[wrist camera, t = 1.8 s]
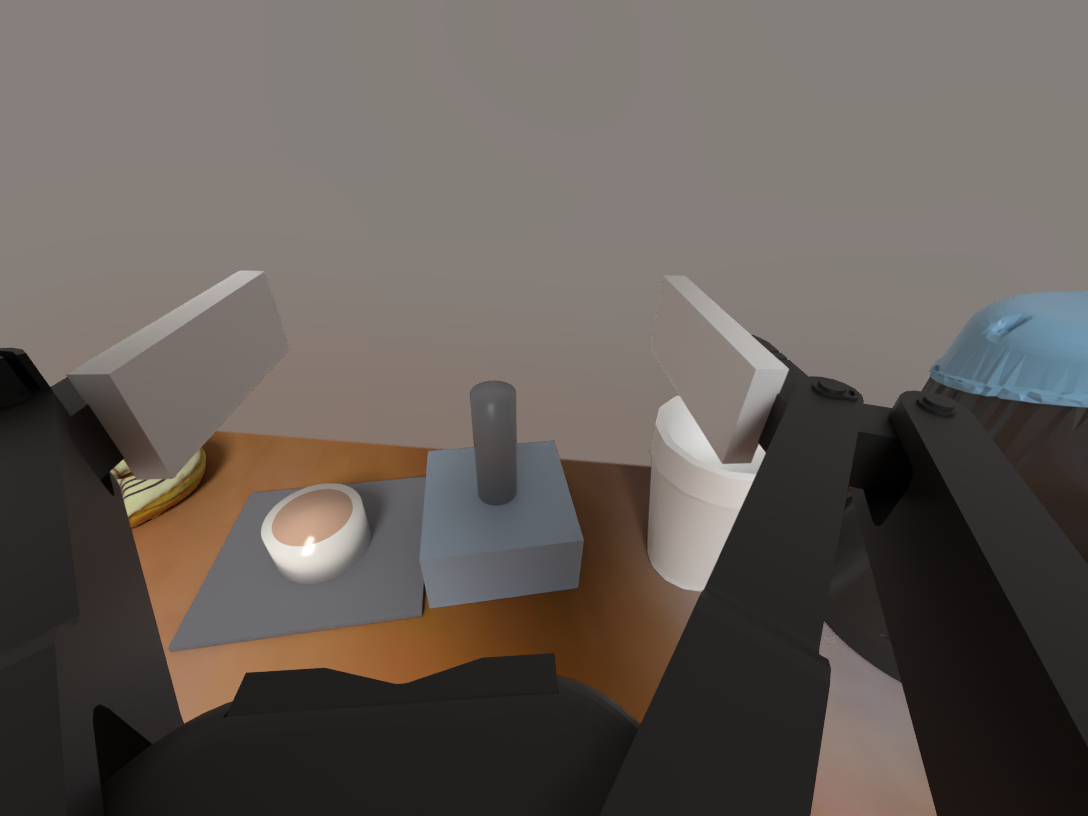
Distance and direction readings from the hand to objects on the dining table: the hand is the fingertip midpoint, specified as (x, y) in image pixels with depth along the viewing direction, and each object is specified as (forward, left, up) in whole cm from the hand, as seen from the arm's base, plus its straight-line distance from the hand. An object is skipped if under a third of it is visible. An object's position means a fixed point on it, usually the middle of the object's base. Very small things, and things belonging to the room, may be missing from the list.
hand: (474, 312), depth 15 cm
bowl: (+13, -11, -24) cm, 29 cm away
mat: (+13, -11, -24) cm, 29 cm away
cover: (-1, -10, -24) cm, 26 cm away
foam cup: (-16, -6, -24) cm, 30 cm away
